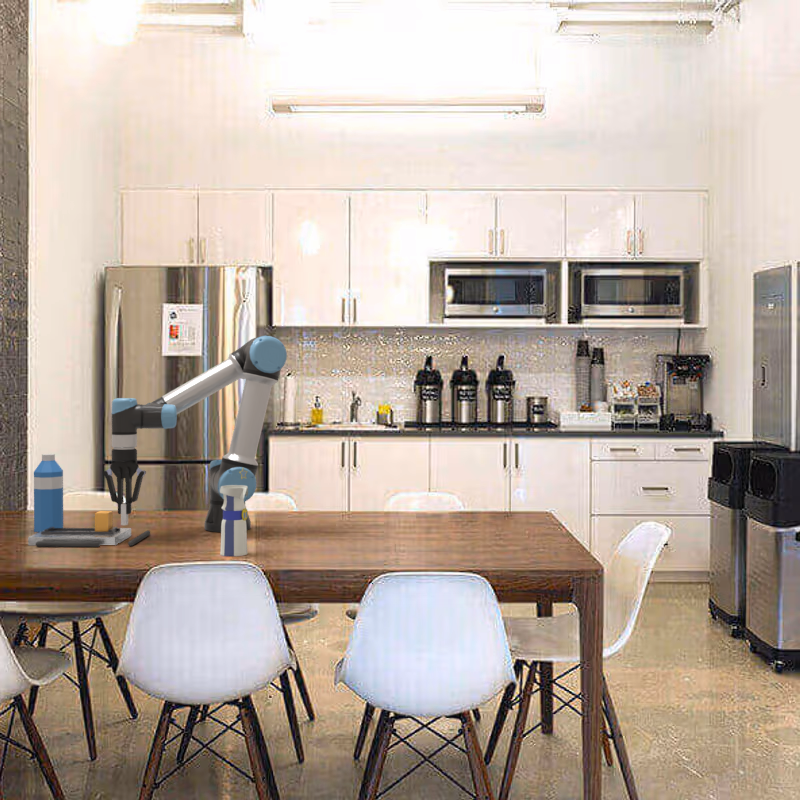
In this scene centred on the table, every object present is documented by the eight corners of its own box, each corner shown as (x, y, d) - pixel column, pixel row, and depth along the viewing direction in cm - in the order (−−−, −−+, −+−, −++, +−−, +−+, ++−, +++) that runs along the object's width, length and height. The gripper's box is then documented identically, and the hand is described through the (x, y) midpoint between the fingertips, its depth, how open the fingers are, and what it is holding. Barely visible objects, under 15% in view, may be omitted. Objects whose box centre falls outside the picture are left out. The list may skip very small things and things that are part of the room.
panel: (131, 535, 320) (131, 524, 320) (115, 545, 302) (115, 532, 302) (49, 535, 320) (49, 523, 320) (28, 545, 302) (28, 532, 302)
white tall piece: (253, 551, 292) (253, 465, 292) (242, 556, 284) (242, 468, 283) (227, 550, 294) (226, 465, 294) (215, 555, 286) (215, 467, 285)
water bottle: (54, 533, 326) (53, 455, 325) (28, 532, 328) (27, 455, 327) (69, 528, 335) (68, 453, 334) (43, 527, 337) (43, 453, 336)
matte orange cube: (112, 530, 314) (112, 511, 314) (108, 532, 309) (108, 513, 309) (99, 530, 314) (99, 511, 314) (95, 532, 309) (94, 513, 309)
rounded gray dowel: (145, 535, 321) (145, 530, 321) (150, 535, 321) (150, 530, 321) (127, 546, 300) (127, 541, 300) (132, 546, 300) (132, 541, 300)
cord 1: (100, 546, 301) (99, 541, 300) (98, 547, 299) (98, 542, 299) (36, 546, 301) (36, 541, 301) (34, 547, 299) (34, 541, 299)
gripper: (148, 447, 314) (148, 523, 315) (106, 447, 314) (107, 522, 315) (142, 449, 307) (142, 526, 307) (99, 449, 307) (99, 526, 307)
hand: (124, 524), depth 311 cm, fingers closed
